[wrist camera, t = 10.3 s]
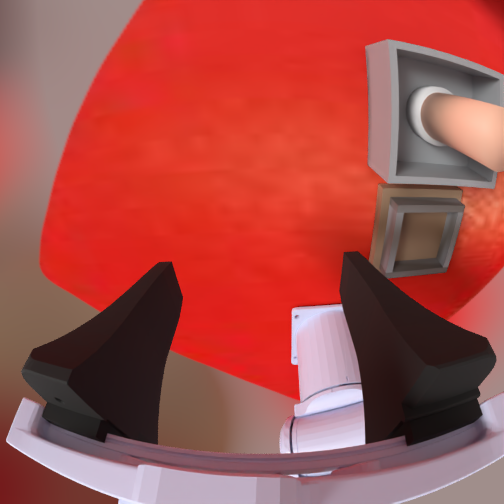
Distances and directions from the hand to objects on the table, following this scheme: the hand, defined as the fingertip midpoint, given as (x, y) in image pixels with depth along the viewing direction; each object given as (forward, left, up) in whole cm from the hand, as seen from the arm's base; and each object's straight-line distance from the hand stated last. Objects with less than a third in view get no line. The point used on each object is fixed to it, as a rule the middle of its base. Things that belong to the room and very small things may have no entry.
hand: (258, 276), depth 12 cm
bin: (+6, -13, -10) cm, 18 cm away
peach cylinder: (+6, -13, -10) cm, 17 cm away
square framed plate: (-4, -13, -10) cm, 17 cm away
